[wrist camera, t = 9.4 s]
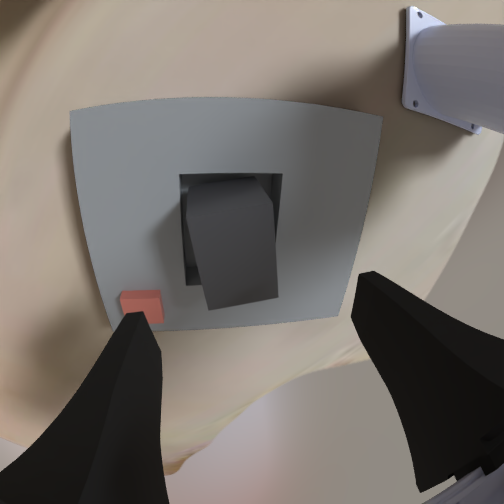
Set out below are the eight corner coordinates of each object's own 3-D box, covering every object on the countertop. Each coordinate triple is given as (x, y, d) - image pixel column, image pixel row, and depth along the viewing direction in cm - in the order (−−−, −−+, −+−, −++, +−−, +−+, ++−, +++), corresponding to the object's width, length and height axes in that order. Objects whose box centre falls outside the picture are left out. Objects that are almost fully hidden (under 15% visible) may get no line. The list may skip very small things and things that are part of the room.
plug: (251, 170, 16) (272, 203, 12) (258, 247, 18) (278, 297, 14) (188, 181, 15) (186, 217, 11) (204, 256, 18) (208, 310, 14)
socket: (360, 111, 15) (391, 118, 12) (325, 295, 22) (342, 323, 20) (87, 107, 12) (62, 112, 10) (118, 307, 19) (111, 339, 17)
